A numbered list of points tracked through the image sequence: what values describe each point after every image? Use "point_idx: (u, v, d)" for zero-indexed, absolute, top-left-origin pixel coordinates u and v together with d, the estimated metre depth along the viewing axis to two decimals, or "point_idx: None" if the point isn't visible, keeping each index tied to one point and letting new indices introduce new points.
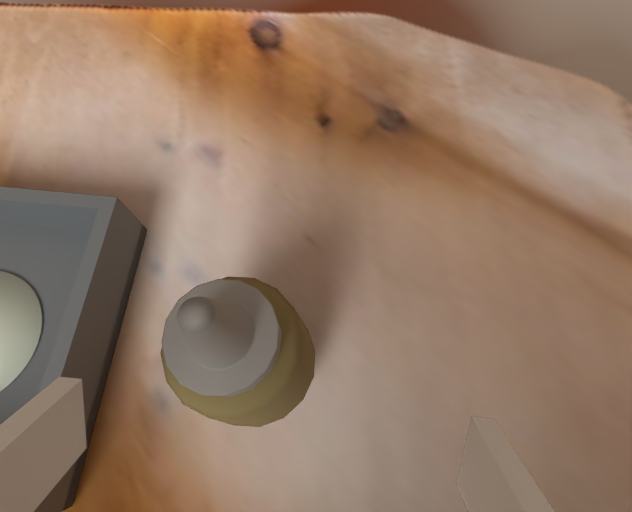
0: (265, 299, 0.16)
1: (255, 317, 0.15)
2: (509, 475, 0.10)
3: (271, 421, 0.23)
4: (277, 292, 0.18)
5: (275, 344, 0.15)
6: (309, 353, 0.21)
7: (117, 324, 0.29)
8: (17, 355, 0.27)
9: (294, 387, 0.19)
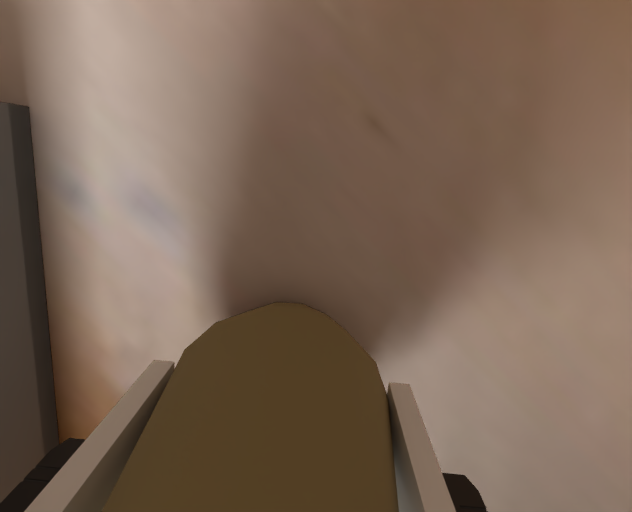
0: None
1: None
2: (405, 427, 0.12)
3: None
4: None
5: None
6: None
7: (35, 305, 0.16)
8: None
9: None
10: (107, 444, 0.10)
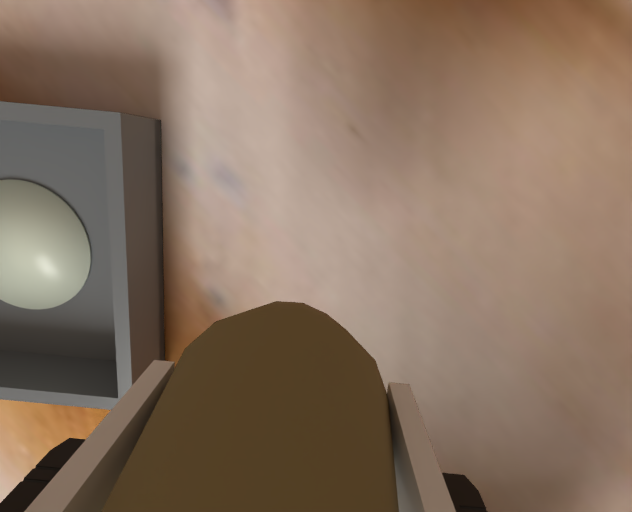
0: None
1: None
2: (405, 427, 0.12)
3: None
4: None
5: None
6: None
7: (159, 234, 0.28)
8: (76, 265, 0.29)
9: None
10: (107, 444, 0.10)
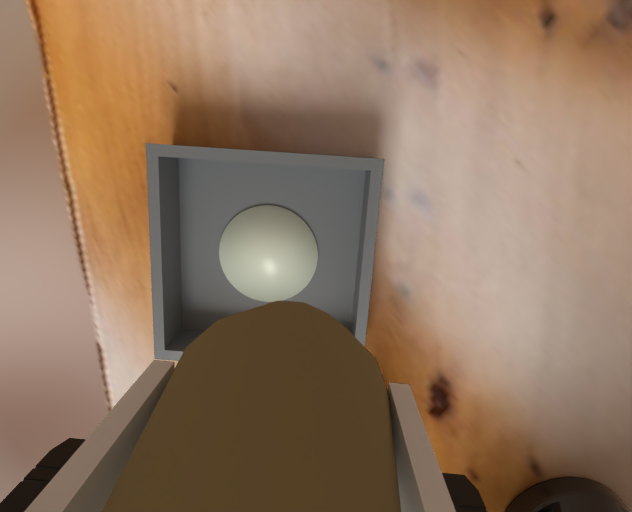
0: None
1: None
2: (405, 427, 0.12)
3: None
4: None
5: None
6: None
7: None
8: (306, 267, 0.39)
9: None
10: (107, 444, 0.10)
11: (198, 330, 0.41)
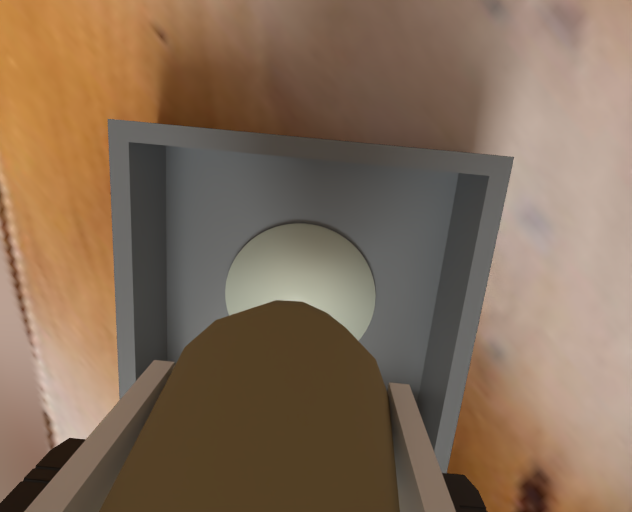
0: None
1: None
2: (405, 427, 0.12)
3: None
4: None
5: None
6: None
7: None
8: (357, 318, 0.26)
9: None
10: (107, 444, 0.10)
11: None
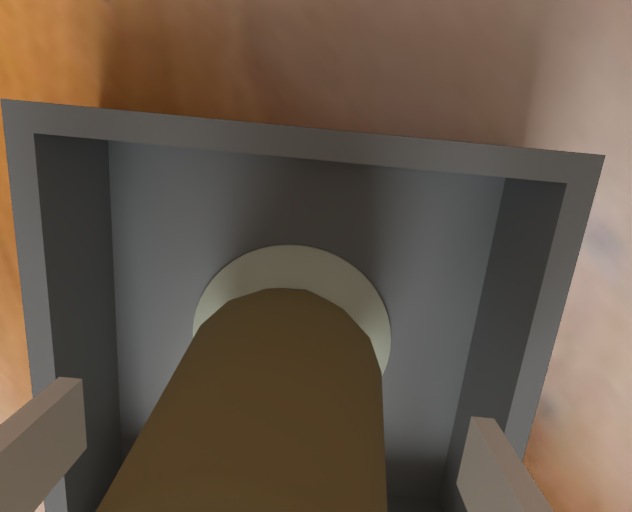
0: None
1: None
2: (508, 475, 0.10)
3: None
4: None
5: None
6: None
7: None
8: None
9: None
10: None
11: None
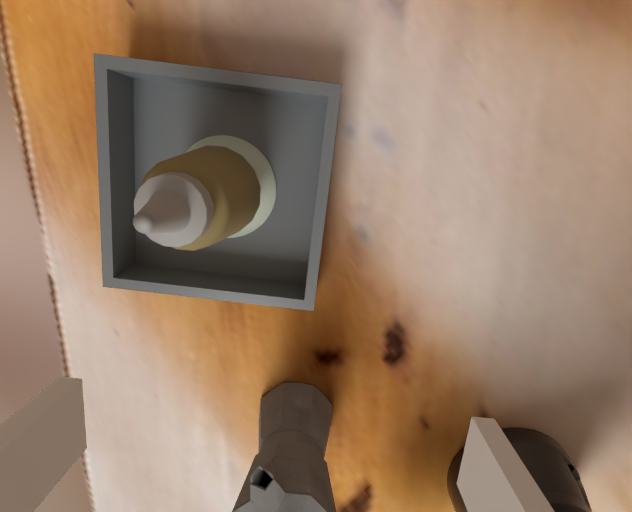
0: (196, 189, 0.23)
1: (190, 202, 0.23)
2: (509, 475, 0.10)
3: None
4: (211, 170, 0.25)
5: (205, 219, 0.24)
6: (247, 199, 0.30)
7: None
8: (264, 203, 0.38)
9: (232, 228, 0.28)
10: None
11: (152, 264, 0.40)
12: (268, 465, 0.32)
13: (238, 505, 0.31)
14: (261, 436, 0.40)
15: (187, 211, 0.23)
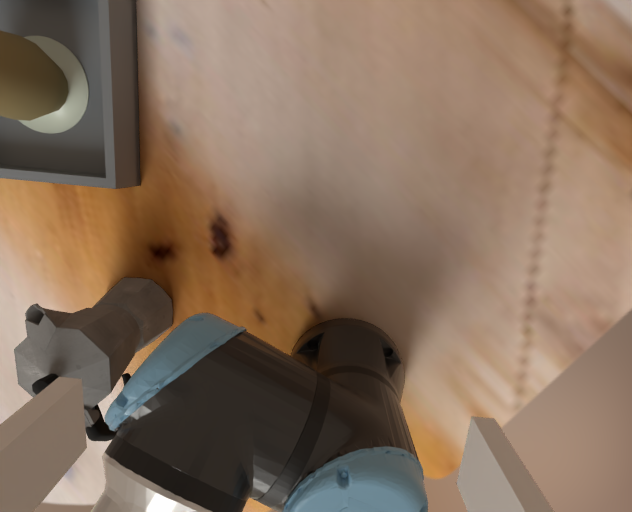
0: None
1: None
2: (509, 475, 0.10)
3: (32, 116, 0.39)
4: None
5: None
6: (21, 70, 0.34)
7: (135, 77, 0.42)
8: (79, 99, 0.42)
9: None
10: None
11: None
12: (51, 310, 0.35)
13: None
14: None
15: None
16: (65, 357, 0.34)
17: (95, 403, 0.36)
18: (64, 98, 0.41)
